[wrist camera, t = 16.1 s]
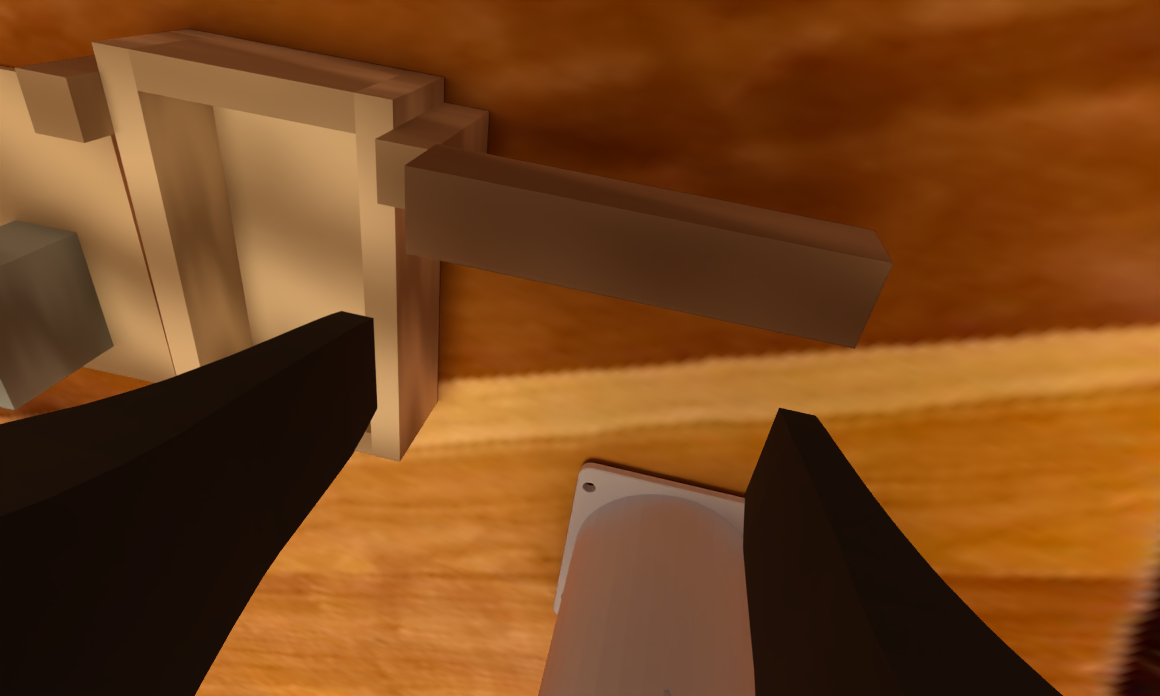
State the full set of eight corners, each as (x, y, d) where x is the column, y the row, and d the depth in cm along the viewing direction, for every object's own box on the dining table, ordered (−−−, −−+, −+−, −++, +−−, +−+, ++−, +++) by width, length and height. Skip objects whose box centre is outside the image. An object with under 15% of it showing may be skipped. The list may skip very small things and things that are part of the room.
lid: (192, 377, 27) (93, 457, 23) (32, 342, 28) (-94, 413, 24) (117, 82, 21) (-41, 115, 16) (-89, 45, 21) (-293, 67, 17)
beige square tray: (471, 410, 25) (427, 491, 21) (214, 350, 26) (127, 418, 22) (490, 86, 18) (432, 119, 14) (144, 20, 19) (4, 36, 15)
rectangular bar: (840, 309, 15) (854, 348, 13) (435, 224, 16) (405, 252, 14) (874, 230, 14) (892, 263, 12) (436, 143, 15) (404, 165, 13)
